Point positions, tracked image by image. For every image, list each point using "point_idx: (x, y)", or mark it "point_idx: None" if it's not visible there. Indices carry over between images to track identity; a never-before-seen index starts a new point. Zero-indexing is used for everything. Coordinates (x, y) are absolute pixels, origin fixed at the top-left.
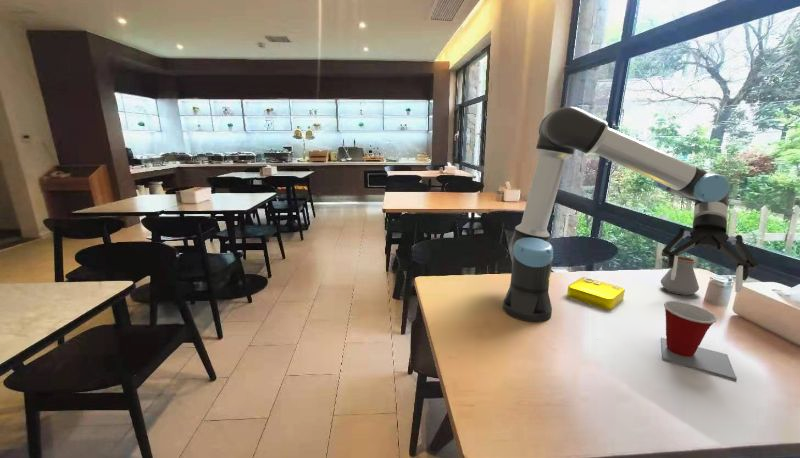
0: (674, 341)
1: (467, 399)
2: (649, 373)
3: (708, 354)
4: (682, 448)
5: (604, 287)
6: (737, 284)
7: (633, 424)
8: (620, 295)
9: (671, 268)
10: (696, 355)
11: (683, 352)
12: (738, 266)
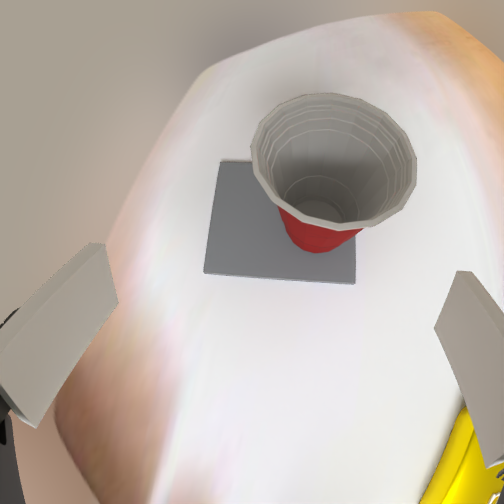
0: (341, 180)
1: (473, 42)
2: None
3: (250, 244)
4: (319, 26)
5: (482, 490)
6: (94, 280)
7: (363, 36)
8: (444, 485)
9: None
10: (280, 220)
11: (314, 190)
12: (5, 436)
